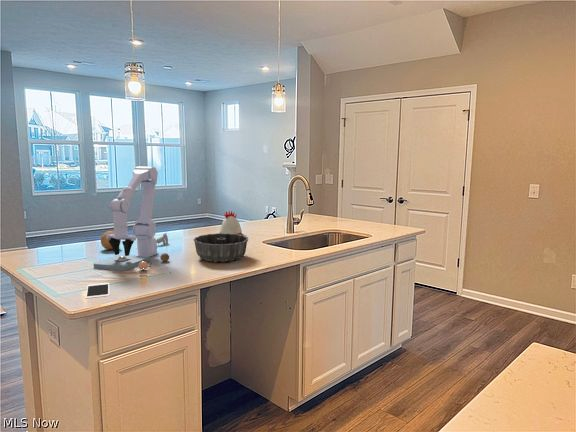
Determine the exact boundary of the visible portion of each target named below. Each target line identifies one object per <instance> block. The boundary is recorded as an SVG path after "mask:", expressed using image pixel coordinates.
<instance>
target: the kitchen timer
mask: <svg viewBox="0 0 576 432" xmlns="http://www.w3.org/2000/svg"><path fill="white" fill-rule="evenodd" d="M223 215H224V219H223V221H222V222H221V225H220V228H219V233H223V234H227V233H229V234H239V235H242V234H243V233H242V232H243V231H242V228H241V223H240V222H239V220H238V219H237V216H238V215H237V213H235V212H233V210H229V211H225V213H223ZM242 236H243V235H242Z"/></svg>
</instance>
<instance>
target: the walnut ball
mask: <svg viewBox="0 0 576 432" xmlns="http://www.w3.org/2000/svg"><path fill="white" fill-rule="evenodd" d="M159 257H160V258H159V259H160V260H161V261H162V262H164V263H165V262H168V261H169V260H170V255H169V254H168V253H166V252H164V253H161V255H160V256H159Z"/></svg>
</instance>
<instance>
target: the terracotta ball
mask: <svg viewBox="0 0 576 432" xmlns="http://www.w3.org/2000/svg"><path fill="white" fill-rule="evenodd" d="M137 268H138V269H139V270H140V271H142V270H141V269H143V268H144V269H146V270H148V268H149V264H148V262H145V261H142V262H140V263H139V265H138V266H137Z"/></svg>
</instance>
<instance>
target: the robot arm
mask: <svg viewBox="0 0 576 432" xmlns="http://www.w3.org/2000/svg"><path fill="white" fill-rule="evenodd" d="M132 174H133V175H132V177H131V179H130V181H129V183H128V185H127V186H124V187H123V188H122V189H121V191H120V192H119V194H118V195H117V197H116V198H114V199H113V200H111V201H110V204H109V210H110V211H111V215H112V217H113V221H112V222H113V231H114V234H107V239H110V240H109V243H110V244H111V246H112V248H113V249H112V250H113V255H114V256H118V255H120V245H121V243H122V245H123V251H124V255H125V256H128V255H131V254H130V253H131V249H132V246H133V244H134V243H135V241H136V244H137V248H136V249H137V253H136V254H133V256H143V257H150V258H151V257H152V256H154V255H158V254H159V251H158V243H157V241H156V240H157V238H156V237H155V235H156V233H157V229H156V228H157V227H156V225H157V223H156V222H155V221H154V220H153V219H152V214H153V207H154V199H155V190H156V185H157V184H158V182H157V181H158V177H159V173H158V170H157V168H156V166H140V165H139V166H135V168H134V169H133V171H132ZM139 185H142V186H143V190H142V200H141V208H140V216H139V217H138V218H137V219H136V220H135V221H134V224H133V227H132V234H133V235H132V234H129V232H128V230H129V229H128V216H127V215H128V212H129V210H130V205H131V201H132V200H133V198H134V196H135V195H136V193H135V190H136V189H137V188H138V187H139ZM120 240H121V242H120Z"/></svg>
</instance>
